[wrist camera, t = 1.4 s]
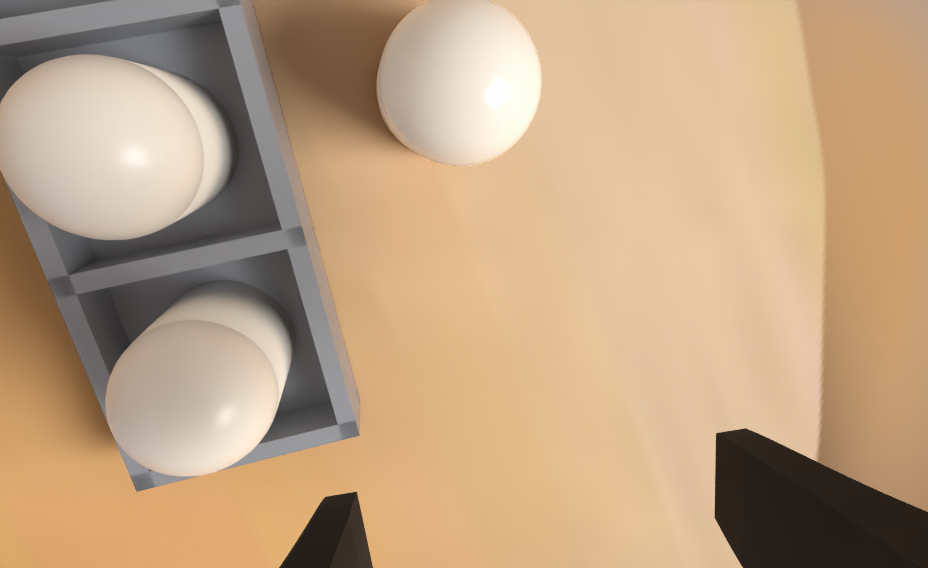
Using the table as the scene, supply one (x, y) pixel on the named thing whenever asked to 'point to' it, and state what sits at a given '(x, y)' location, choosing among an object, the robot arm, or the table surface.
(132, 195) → the egg crate
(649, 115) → the table surface
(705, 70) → the table surface
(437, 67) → the egg
